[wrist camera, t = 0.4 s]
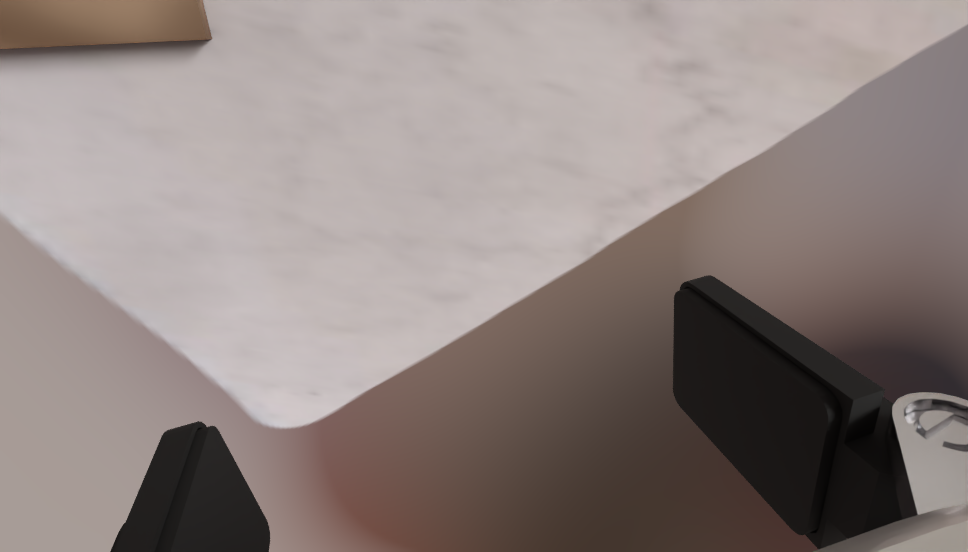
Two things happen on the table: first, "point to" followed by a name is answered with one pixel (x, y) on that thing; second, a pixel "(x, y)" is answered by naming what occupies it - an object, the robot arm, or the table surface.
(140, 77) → the table surface
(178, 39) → the spindle stand
